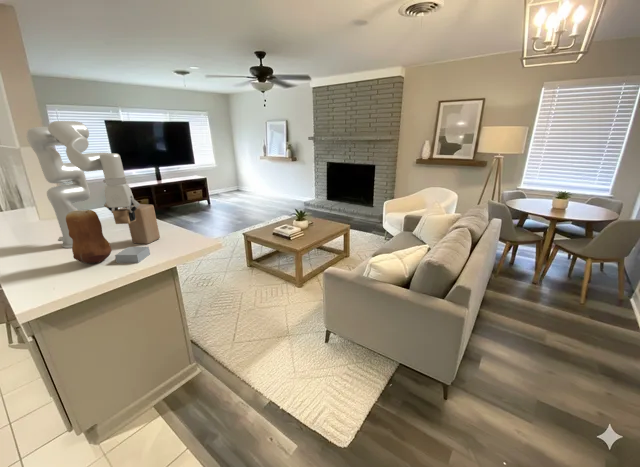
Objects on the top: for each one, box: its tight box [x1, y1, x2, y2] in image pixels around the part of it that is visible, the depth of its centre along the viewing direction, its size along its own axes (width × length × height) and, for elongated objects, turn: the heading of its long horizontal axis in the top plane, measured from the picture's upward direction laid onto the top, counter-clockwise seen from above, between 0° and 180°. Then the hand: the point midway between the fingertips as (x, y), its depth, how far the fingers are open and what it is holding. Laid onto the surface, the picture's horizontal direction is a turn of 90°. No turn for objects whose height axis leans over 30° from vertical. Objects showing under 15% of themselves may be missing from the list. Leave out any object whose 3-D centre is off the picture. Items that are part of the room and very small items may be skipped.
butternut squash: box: [66, 209, 112, 264], centre depth 130 cm, size 14×13×25 cm
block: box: [127, 203, 161, 245], centre depth 157 cm, size 10×10×20 cm
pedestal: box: [114, 246, 151, 264], centre depth 137 cm, size 10×10×4 cm
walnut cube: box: [111, 207, 136, 225], centre depth 134 cm, size 6×6×6 cm
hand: (125, 220), depth 134 cm, fingers closed on walnut cube, 6 cm apart
